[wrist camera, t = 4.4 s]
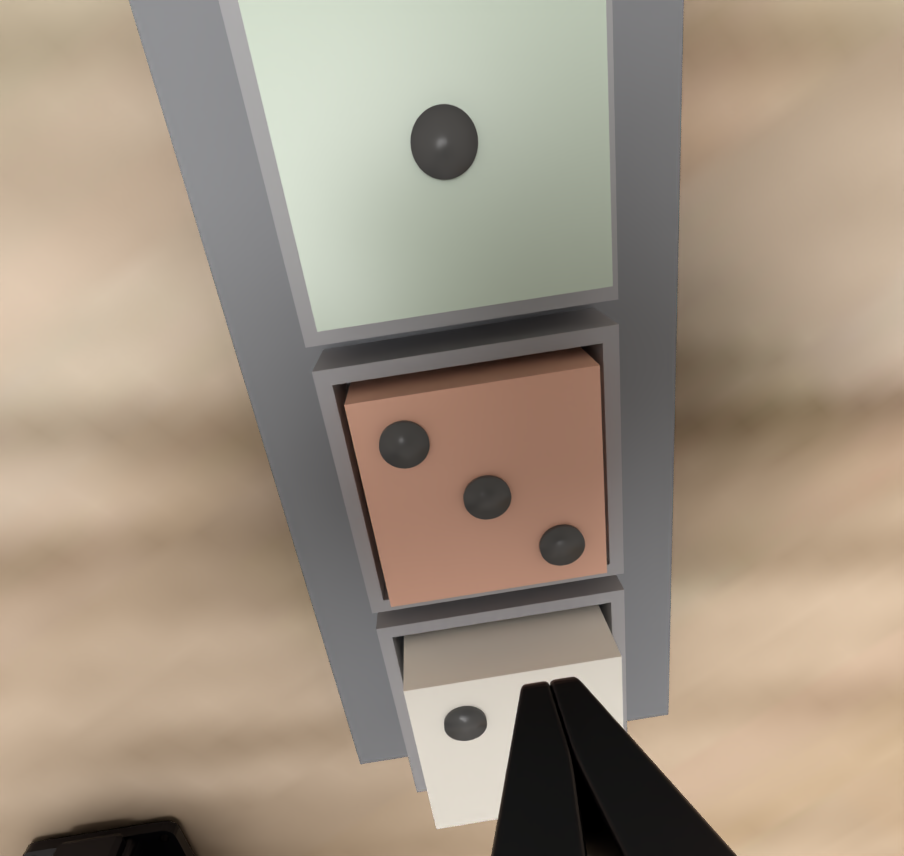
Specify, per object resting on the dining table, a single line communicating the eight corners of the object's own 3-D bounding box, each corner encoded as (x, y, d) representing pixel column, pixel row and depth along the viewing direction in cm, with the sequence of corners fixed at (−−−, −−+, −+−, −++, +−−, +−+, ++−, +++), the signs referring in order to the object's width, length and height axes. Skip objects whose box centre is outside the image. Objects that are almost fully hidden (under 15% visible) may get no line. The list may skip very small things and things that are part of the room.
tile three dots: (581, 522, 18) (608, 576, 15) (393, 552, 18) (391, 611, 15) (571, 338, 15) (601, 367, 13) (353, 372, 15) (343, 407, 13)
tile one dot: (578, 269, 14) (615, 287, 11) (332, 306, 14) (316, 333, 11) (564, -39, 11) (606, -99, 9) (265, 6, 11) (225, -43, 9)
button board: (652, 683, 23) (691, 762, 20) (363, 729, 23) (356, 817, 20) (657, -95, 13) (737, -184, 10) (146, -20, 13) (62, -84, 10)
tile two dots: (600, 728, 20) (626, 803, 18) (433, 755, 20) (436, 834, 18) (594, 595, 18) (623, 660, 15) (404, 625, 18) (403, 695, 15)
